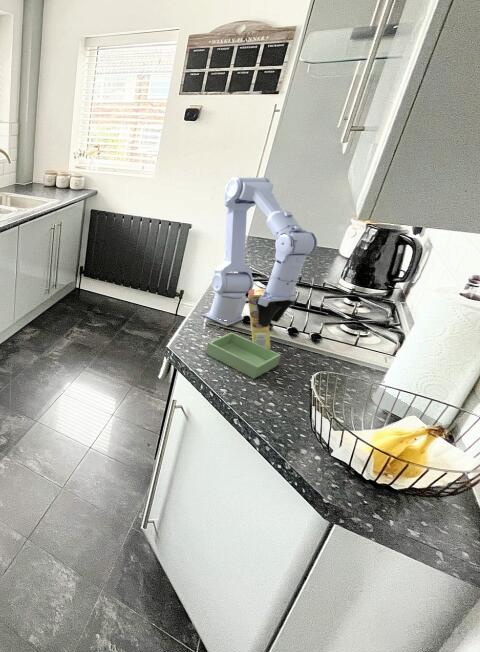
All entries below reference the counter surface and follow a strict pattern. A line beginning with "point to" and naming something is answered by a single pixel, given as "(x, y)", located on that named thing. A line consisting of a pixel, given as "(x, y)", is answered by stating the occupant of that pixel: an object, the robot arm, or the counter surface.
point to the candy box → (258, 331)
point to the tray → (243, 354)
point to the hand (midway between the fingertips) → (267, 322)
